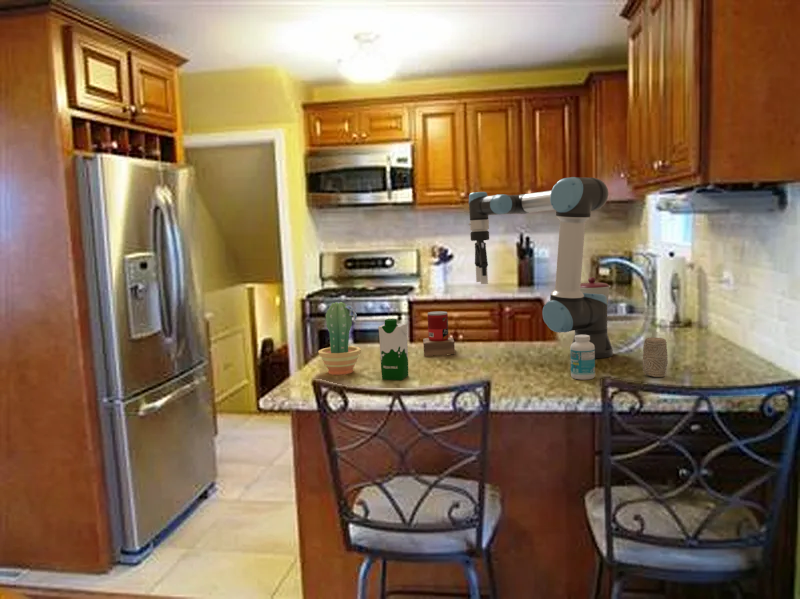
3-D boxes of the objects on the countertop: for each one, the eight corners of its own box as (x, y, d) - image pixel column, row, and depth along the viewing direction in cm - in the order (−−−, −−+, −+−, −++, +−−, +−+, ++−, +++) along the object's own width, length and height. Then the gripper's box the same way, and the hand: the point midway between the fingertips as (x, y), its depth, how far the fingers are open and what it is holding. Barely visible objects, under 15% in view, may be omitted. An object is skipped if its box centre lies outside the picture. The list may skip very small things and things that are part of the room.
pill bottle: (567, 376, 214) (566, 334, 213) (590, 374, 215) (589, 333, 213) (575, 381, 207) (574, 338, 205) (598, 379, 207) (598, 336, 206)
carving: (671, 377, 205) (671, 339, 204) (648, 379, 205) (647, 340, 203) (662, 373, 212) (661, 336, 210) (639, 374, 211) (638, 337, 210)
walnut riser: (454, 354, 259) (454, 341, 258) (424, 356, 259) (423, 343, 258) (453, 349, 271) (452, 336, 270) (423, 350, 271) (423, 338, 270)
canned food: (447, 341, 260) (446, 313, 258) (427, 341, 261) (425, 313, 260) (449, 338, 267) (448, 311, 266) (430, 338, 269) (429, 311, 268)
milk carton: (378, 380, 221) (375, 320, 219) (387, 374, 229) (385, 317, 227) (403, 381, 218) (400, 320, 216) (412, 375, 226) (409, 317, 224)
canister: (609, 320, 328) (609, 278, 326) (572, 320, 335) (571, 279, 333) (612, 315, 345) (611, 275, 343) (576, 315, 352) (575, 276, 349)
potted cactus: (345, 378, 226) (341, 305, 224) (310, 374, 235) (305, 304, 232) (370, 369, 239) (367, 300, 237) (336, 366, 248) (332, 299, 245)
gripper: (466, 231, 282) (469, 281, 283) (474, 230, 257) (476, 285, 259) (484, 230, 282) (486, 280, 284) (493, 229, 257) (496, 284, 259)
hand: (482, 283), depth 271 cm, fingers open, 13 cm apart
